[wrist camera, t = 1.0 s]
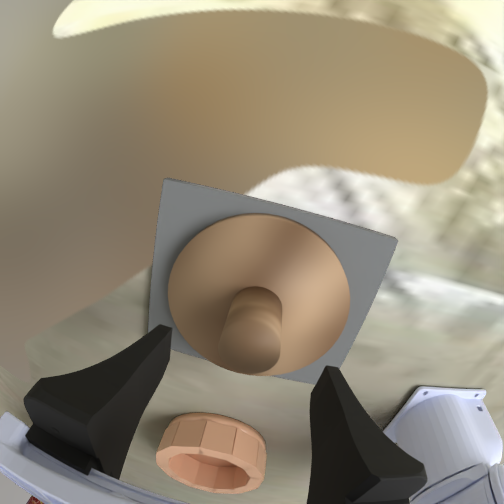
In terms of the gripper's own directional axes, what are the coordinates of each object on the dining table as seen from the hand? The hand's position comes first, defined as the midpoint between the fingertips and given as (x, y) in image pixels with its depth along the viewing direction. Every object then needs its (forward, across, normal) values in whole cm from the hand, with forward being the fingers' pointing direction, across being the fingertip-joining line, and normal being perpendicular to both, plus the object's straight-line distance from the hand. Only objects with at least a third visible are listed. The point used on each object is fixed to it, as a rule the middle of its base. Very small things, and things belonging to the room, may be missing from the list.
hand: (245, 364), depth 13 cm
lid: (+6, 0, 0) cm, 6 cm away
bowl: (+6, 0, +18) cm, 19 cm away
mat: (+7, 0, 0) cm, 7 cm away
